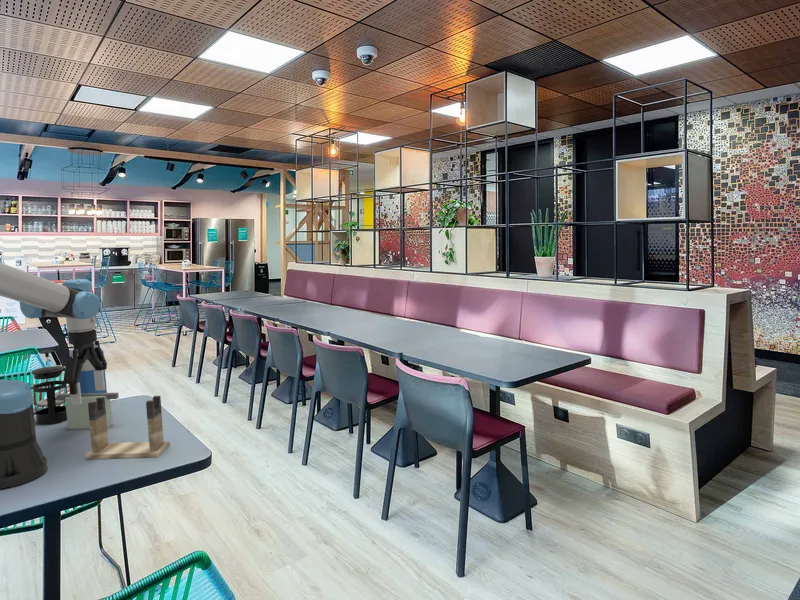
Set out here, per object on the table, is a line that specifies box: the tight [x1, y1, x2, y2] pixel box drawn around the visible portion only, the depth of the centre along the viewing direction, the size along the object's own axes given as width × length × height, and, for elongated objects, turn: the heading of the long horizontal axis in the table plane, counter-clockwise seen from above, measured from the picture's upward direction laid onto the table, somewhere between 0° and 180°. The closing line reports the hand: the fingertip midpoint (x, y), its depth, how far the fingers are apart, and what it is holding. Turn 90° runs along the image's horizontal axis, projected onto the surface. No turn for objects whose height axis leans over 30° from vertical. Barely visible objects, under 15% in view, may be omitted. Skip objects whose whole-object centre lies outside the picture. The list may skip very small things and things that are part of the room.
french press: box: [29, 349, 68, 426], centre depth 170 cm, size 12×9×23 cm
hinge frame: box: [84, 395, 171, 460], centre depth 144 cm, size 19×8×15 cm, turn 92°
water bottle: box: [77, 348, 108, 393], centre depth 183 cm, size 9×9×25 cm
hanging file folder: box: [55, 392, 119, 430], centre depth 164 cm, size 18×4×11 cm, turn 92°
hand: (89, 396), depth 165 cm, fingers open, 13 cm apart
